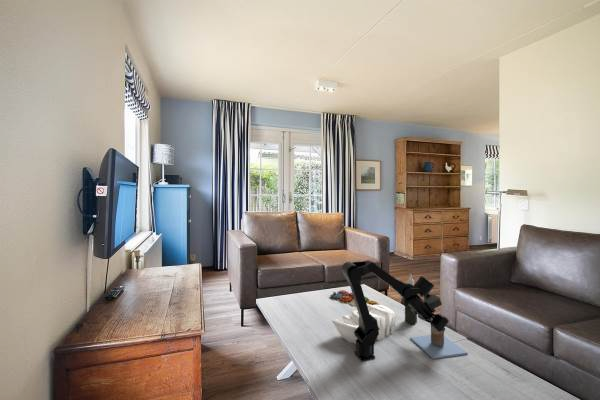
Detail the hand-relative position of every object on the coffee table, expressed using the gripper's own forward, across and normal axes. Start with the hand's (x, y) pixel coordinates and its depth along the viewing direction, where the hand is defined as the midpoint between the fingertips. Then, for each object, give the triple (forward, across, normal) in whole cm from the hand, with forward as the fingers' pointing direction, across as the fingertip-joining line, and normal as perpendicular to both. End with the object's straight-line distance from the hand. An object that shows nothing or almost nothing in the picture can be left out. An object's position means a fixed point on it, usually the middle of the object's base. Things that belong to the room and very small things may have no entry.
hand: (440, 327), depth 122 cm
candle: (+7, +23, +5) cm, 25 cm away
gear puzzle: (-5, +56, +18) cm, 60 cm away
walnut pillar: (+4, 0, +6) cm, 7 cm away
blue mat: (+5, 0, +7) cm, 8 cm away
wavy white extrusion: (-12, +17, +25) cm, 32 cm away
